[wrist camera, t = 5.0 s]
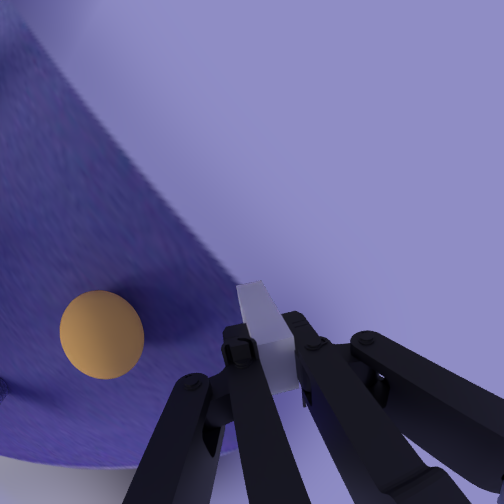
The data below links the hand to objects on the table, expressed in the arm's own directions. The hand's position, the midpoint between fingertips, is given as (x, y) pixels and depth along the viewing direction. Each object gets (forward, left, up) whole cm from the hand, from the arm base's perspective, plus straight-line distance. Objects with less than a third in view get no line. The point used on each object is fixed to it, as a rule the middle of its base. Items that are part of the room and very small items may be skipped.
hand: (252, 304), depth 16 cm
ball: (-10, 0, +1) cm, 10 cm away
